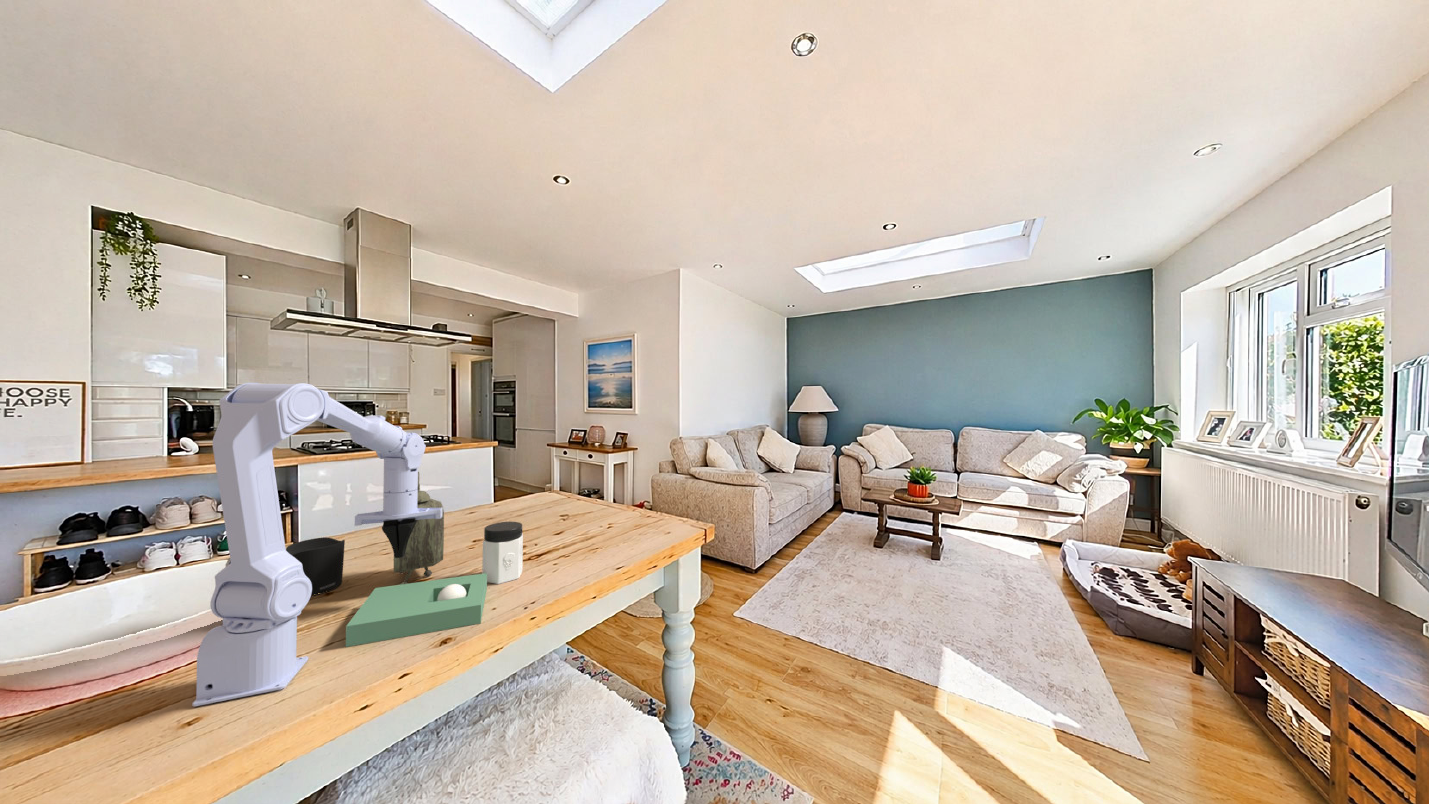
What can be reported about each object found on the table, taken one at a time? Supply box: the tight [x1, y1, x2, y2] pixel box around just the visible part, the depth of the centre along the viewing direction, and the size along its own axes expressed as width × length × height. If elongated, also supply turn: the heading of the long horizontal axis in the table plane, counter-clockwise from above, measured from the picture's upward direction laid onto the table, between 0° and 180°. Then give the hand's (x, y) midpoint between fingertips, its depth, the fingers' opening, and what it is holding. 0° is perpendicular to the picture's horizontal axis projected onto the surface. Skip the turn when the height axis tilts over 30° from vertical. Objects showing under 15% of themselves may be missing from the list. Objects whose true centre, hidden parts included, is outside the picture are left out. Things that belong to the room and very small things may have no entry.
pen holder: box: [285, 536, 346, 596], centre depth 94 cm, size 9×9×10 cm
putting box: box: [345, 573, 488, 648], centre depth 83 cm, size 20×16×4 cm
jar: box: [481, 521, 524, 585], centre depth 102 cm, size 9×8×12 cm
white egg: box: [437, 584, 467, 601], centre depth 85 cm, size 5×5×5 cm
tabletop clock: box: [393, 471, 445, 585], centre depth 100 cm, size 14×9×25 cm, turn 37°
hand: (399, 556), depth 88 cm, fingers closed
